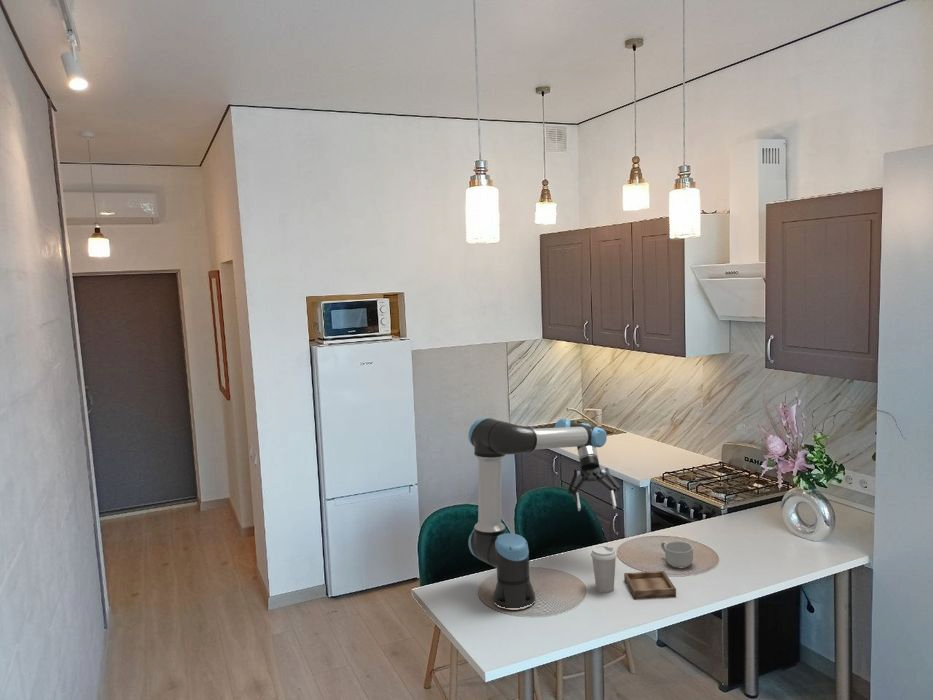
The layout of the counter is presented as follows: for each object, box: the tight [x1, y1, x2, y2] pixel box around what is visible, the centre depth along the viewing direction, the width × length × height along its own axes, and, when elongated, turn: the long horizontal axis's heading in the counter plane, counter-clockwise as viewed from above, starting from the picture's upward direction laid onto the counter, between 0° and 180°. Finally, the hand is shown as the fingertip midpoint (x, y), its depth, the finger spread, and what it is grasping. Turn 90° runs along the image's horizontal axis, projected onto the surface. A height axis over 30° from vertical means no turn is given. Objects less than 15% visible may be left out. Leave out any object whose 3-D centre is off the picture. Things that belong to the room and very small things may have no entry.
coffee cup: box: [590, 545, 618, 593], centre depth 256 cm, size 10×10×15 cm
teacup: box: [660, 540, 694, 568], centre depth 274 cm, size 14×11×8 cm
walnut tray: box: [623, 570, 677, 600], centre depth 254 cm, size 15×15×3 cm
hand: (597, 508), depth 265 cm, fingers open, 13 cm apart
